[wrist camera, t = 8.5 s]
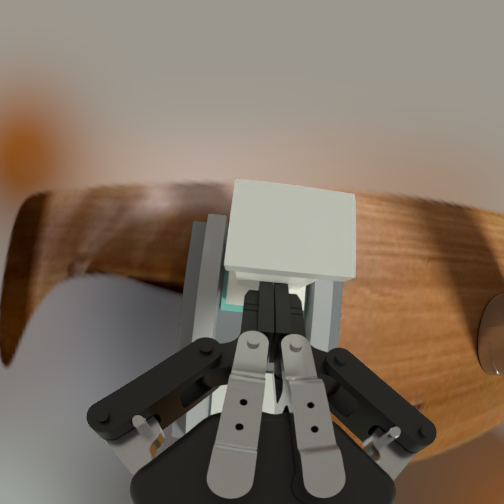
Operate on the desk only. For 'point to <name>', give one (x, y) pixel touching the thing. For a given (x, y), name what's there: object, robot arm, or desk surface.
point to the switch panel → (238, 312)
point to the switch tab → (288, 237)
